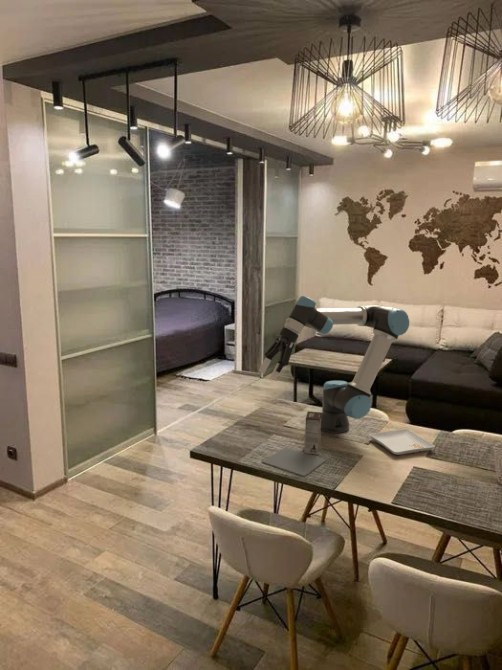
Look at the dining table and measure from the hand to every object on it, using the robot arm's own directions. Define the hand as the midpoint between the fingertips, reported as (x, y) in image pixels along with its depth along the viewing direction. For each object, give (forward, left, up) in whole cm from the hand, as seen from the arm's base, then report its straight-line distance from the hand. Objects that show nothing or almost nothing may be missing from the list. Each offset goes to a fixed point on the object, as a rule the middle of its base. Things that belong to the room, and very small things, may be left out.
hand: (266, 375), depth 208 cm
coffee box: (-15, +15, -34) cm, 41 cm away
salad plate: (-44, +44, -35) cm, 71 cm away
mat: (0, +15, -34) cm, 37 cm away
